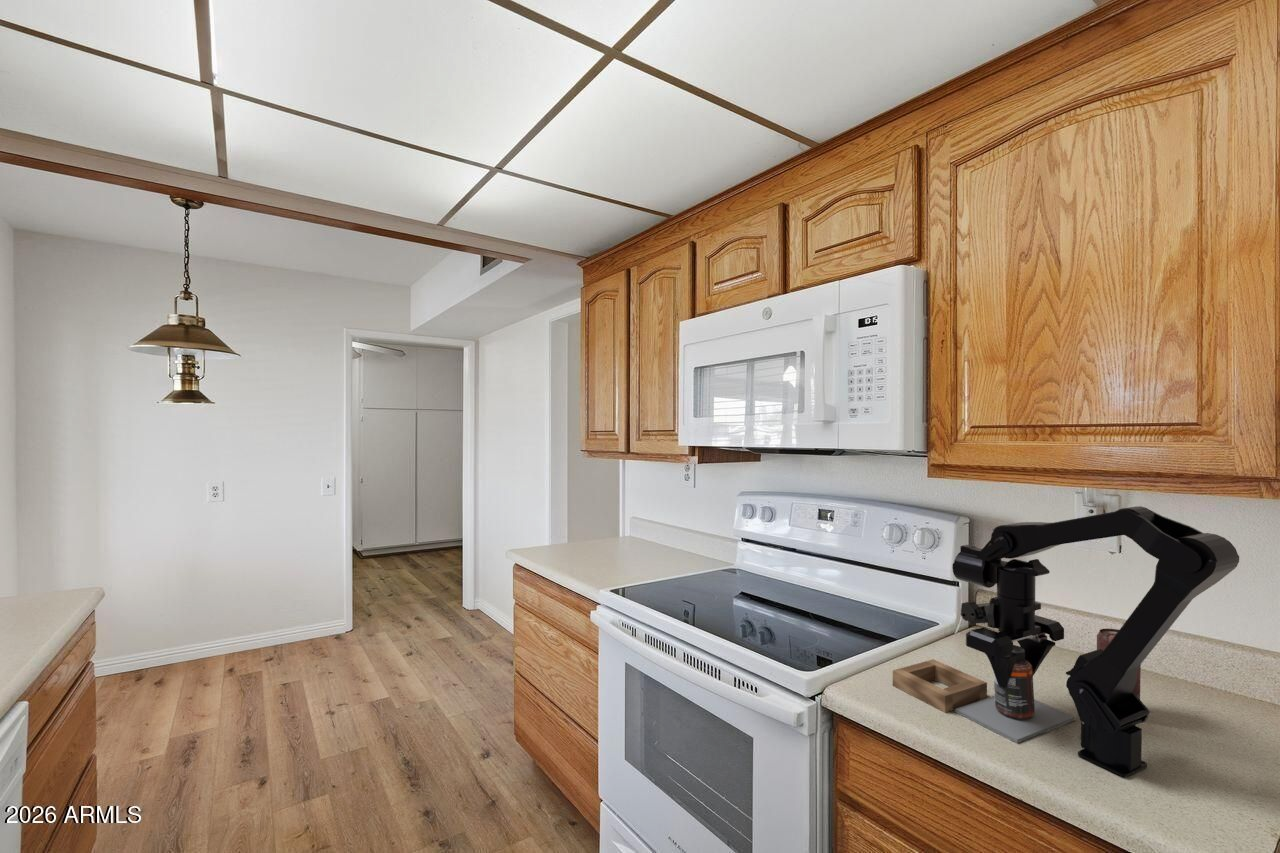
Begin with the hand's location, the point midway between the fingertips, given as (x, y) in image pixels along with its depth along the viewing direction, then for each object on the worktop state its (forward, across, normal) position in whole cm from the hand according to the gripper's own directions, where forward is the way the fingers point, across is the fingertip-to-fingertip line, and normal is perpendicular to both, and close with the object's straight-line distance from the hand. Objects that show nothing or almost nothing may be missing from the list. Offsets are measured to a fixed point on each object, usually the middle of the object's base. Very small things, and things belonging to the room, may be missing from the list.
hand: (1014, 682), depth 105 cm
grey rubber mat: (+6, 0, 0) cm, 6 cm away
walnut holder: (+6, +4, -12) cm, 14 cm away
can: (+6, -18, +7) cm, 20 cm away
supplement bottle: (+6, 0, 0) cm, 6 cm away
